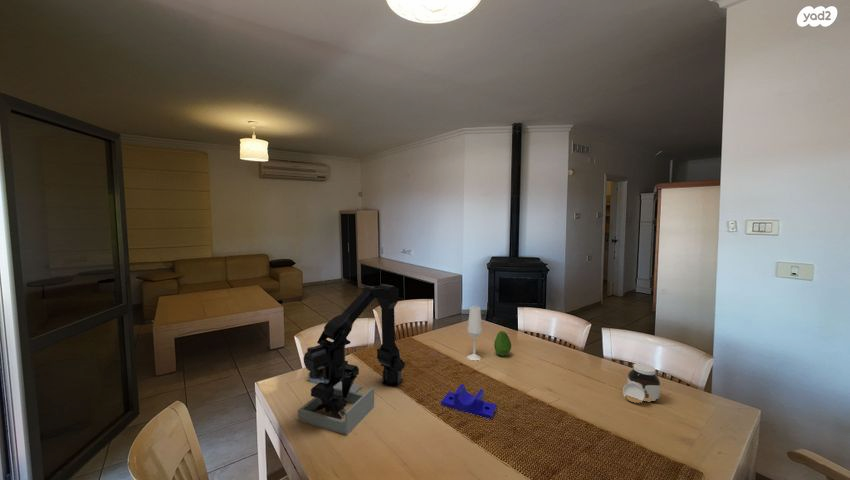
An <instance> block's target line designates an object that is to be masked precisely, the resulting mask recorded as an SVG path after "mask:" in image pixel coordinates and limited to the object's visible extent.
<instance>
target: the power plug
mask: <svg viewBox="0 0 850 480" xmlns="http://www.w3.org/2000/svg"><path fill="white" fill-rule="evenodd" d="M347 404H348V402H346V400H345V399H344V397H343V396H340V395H335V394H334V398H333V402H332V406H331V409H330V412H329V413H331V415H332V416H335V415H337V414H339V416H340V417H341V418H342V419H343V418H345V415H344V414H345V412H346V411H347V410H346V409H345V407H346V405H347ZM323 409H325V408H324V406H323V403H320V404H319V405H318V406H317V407H316V409H314V410H313V411H311V412H315V413H316V411H317V412H318V411H322V410H323ZM341 411H342V412H343V413H344V414H343V413H342V412H341Z"/></svg>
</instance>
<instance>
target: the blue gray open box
mask: <svg viewBox="0 0 850 480" xmlns="http://www.w3.org/2000/svg"><path fill="white" fill-rule="evenodd" d="M307 376H308V377H307V378H308V380H307V381H309V383H313V384H316V385H317V384H318V383H320V382H322V383H327V382H329V381H328V380H322V379H318V378H317V379H312V378H311V377H310V371H309V372H308V375H307Z"/></svg>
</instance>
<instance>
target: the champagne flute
mask: <svg viewBox="0 0 850 480" xmlns="http://www.w3.org/2000/svg"><path fill="white" fill-rule="evenodd" d="M482 328H483V327H482V311H481V307H480V306H477V305H476V306H475V305H474V306H470V307H469V315H468V322H467V333H468V335H469V336H470V337H471V338H473V340H472V354H469V355H467V356H466V359H467V358H468V359H467V360H469V359H470V360H469V361H471V360H475V361H474V362H477V361H476V360H479V361H481V360H482V357H481V356H479V355H478V354H477V353H476V344H477V343H476V339H477V338H478V337H480V335H481V334H482V333H483V329H482ZM480 359H481V360H480Z"/></svg>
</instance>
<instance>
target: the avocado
mask: <svg viewBox="0 0 850 480" xmlns="http://www.w3.org/2000/svg"><path fill="white" fill-rule="evenodd" d="M493 347H494V351H495V353H496V354H497V355H498V356H500V355H501V357H505V356H507V355H508V354H509V353H510V352H511V350H512V341H511V340H510V337H509V335H508V333H507V332H506V331H504V330H500V331H499V332H498V333H497V334H496V337H495V339H494V343H493Z"/></svg>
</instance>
